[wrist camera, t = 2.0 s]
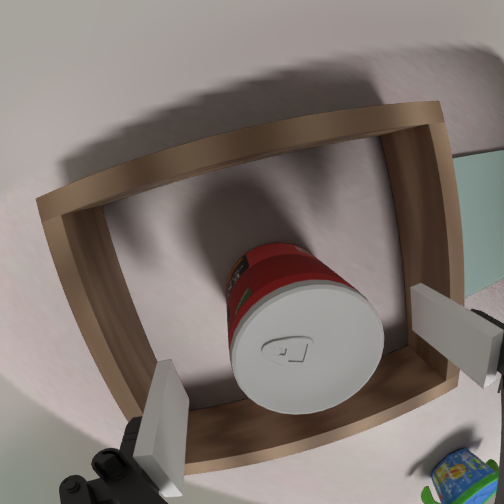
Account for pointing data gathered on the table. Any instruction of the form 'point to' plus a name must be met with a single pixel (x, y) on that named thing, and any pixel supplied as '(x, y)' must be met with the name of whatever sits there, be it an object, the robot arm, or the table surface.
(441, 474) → the snack cup
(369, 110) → the frame
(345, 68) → the table surface
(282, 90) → the table surface
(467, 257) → the mat
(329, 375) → the canned food
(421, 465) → the table surface
